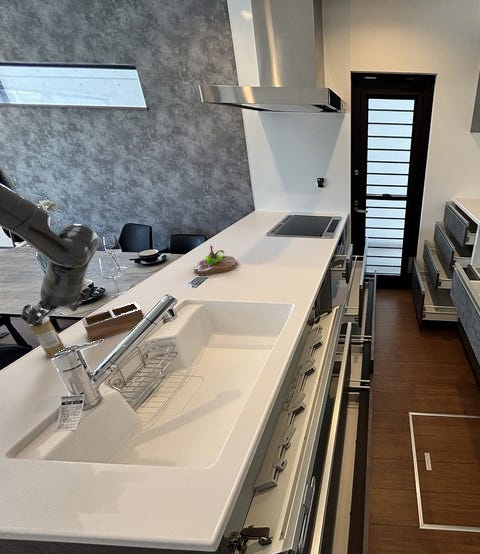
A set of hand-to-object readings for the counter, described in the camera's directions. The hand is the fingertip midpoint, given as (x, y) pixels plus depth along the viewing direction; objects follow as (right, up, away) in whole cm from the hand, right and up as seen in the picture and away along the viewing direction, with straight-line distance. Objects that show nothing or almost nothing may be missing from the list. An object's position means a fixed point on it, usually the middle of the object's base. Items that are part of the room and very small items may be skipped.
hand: (54, 316), depth 87 cm
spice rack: (+1, -7, +21) cm, 22 cm away
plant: (+10, +16, +71) cm, 74 cm away
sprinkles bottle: (-9, -13, +9) cm, 18 cm away
